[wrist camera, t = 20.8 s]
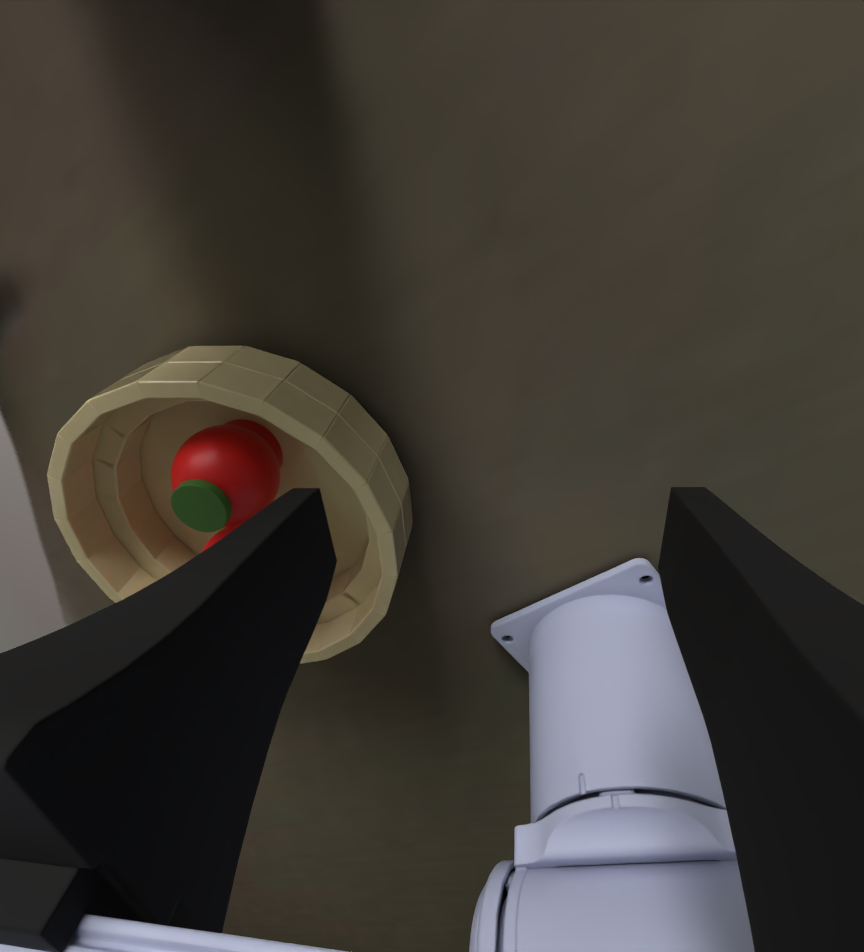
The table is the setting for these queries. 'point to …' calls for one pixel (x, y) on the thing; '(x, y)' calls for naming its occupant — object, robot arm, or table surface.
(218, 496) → the strawberry
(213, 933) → the robot arm
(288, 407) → the bowl
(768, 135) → the table surface
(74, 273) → the table surface
